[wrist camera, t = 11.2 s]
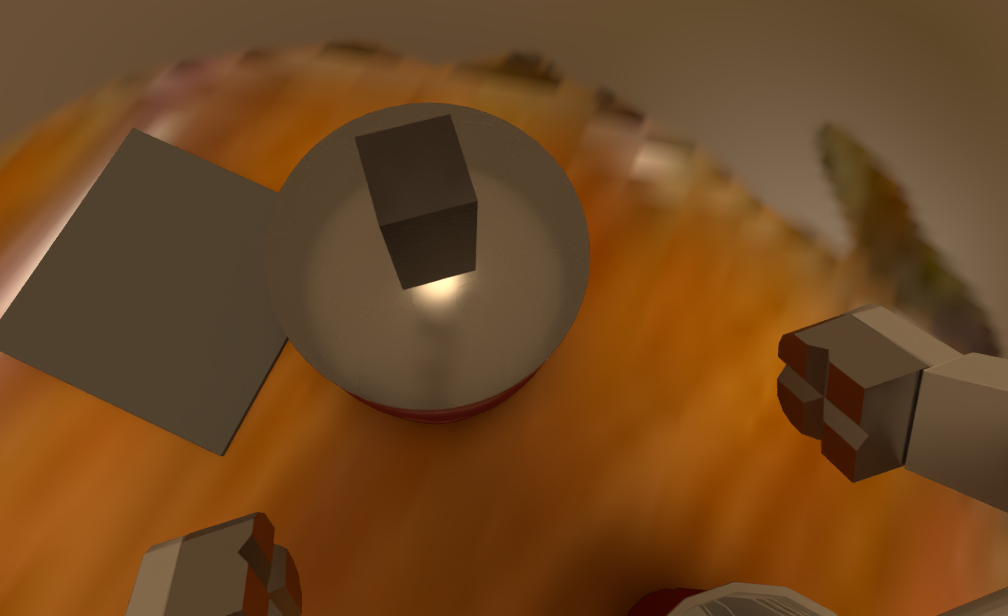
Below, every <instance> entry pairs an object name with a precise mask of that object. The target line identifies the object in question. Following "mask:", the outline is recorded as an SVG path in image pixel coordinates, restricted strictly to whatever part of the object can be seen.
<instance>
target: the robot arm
mask: <svg viewBox="0 0 1008 616" xmlns="http://www.w3.org/2000/svg"><path fill="white" fill-rule="evenodd" d="M778 357H779V358H780V359H781V360H782V361H783V362H784V363H785V364H786V366H785V367H784V369H783V371H782V372H781V374H780V375H779V377H778V378H777V396H778V399H779V401H780V404H781V407H782V410H783V412H784V413H785V415H786V416H787V418H788V419H789V421H790V422H791V424H792V425H793V426H794V427H795V428H796V429H797V430H798V431H799V432H800V433H801V434H804V435H807V436H810V437H813V438H815V439H818V440H820V442H821V453H822V454H823V455H824V456H825V457H826V458H827V459H828V460H829V461H830V462H831V463H832V464H833V465H834V466H835V467H836V468H837V469H838V470H839V471H841V472H842V473H843V474H844V475H845V476H846V477H847V478H848V479H849V480H850V481H851V482H852V483H854V482H857V481H860V480H863V479H866V478H869V477H872V476H875V475H878V474H881V473H884V472H887V471H890V470H893V469H896V468H899V467H901V466H904V465H905V469H907V470H909V471H912V472H914V473H916V474H919V475H921V476H923V477H926V478H928V479H930V480H933V481H935V482H937V483H940V484H942V485H944V486H947V487H949V488H951V489H954V490H956V491H958V492H961V493H963V494H965V495H968V496H970V497H972V498H975V499H977V500H979V501H982V502H984V503H986V504H989V505H991V506H993V507H995V508H998V509H1000V510H1002V511H1005V512H1007V513H1008V359H1003V358H998V357H993V356H988V355H983V354H978V353H971V354H968V355H965V356H964V355H962V354H961V353H959V352H957V351H956V350H954V349H952V348H951V347H949V346H947V345H946V344H944V343H942V342H941V341H939V340H937V339H936V338H934V337H932V336H931V335H929V334H927V333H926V332H924V331H922V330H921V329H919V328H917V327H916V326H914V325H912V324H911V323H909V322H907V321H906V320H904V319H902V318H901V317H899V316H897V315H896V314H894V313H892V312H891V311H889V310H887V309H886V308H884V307H882V306H879V305H874V304H868V305H866V306H863V307H860V308H857V309H854V310H852V311H849V312H846V313H843V314H841V315H840V316H836V317H833V318H830V319H827V320H824V321H822V322H819V323H816V324H813V325H810V326H807V327H804V328H801V329H798V330H796V331H793V332H790V333H787V334H784V335H783V336H782V338H781V340H780V342H779V347H778ZM274 533H275V528H274V526H273V525H272V523H271V522H270V520H269V519H268V517H267V516H266V514H265V513H261V512H257V513H253V514H250V515H247V516H244V517H241V518H237V519H234V520H231V521H228V522H225V523H221V524H218V525H215V526H212V527H209V528H205V529H202V530H199V531H196V532H193V533H189V534H188V535H186V536H182V537H179V538H176V539H173V540H170V541H166V542H163V543H160V544H157V545H153V546H151V547H150V549H149V550H148V551H147V552H146V553H145V554H144V556H143V558H142V562H141V565H140V568H139V571H138V575H137V578H136V581H135V584H134V588H133V591H132V594H131V597H130V600H129V604H128V607H127V610H126V613H125V616H301V614H302V591H301V585H300V579H299V574H298V571H297V568H296V565H295V563H294V560H293V558H292V556H291V555H290V553H289V551H288V550H287V548H284V547H282V546H279V545H277V544H274ZM937 616H1008V587H1006V588H1003V589H1001V590H998V591H996V592H993V593H991V594H988V595H986V596H983V597H981V598H979V599H976V600H974V601H971V602H969V603H966V604H964V605H961V606H959V607H956V608H954V609H952V610H949V611H947V612H944V613H942V614H939V615H937Z"/></svg>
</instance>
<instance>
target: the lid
mask: <svg viewBox="0 0 1008 616" xmlns="http://www.w3.org/2000/svg"><path fill="white" fill-rule="evenodd" d="M589 267H590V242H589V235H588V228H587V223H586V219H585V216H584V212H583V209H582V205H581V203H580V201H579V198H578V196H577V194H576V192H575V189H574V187H573V186H572V184H571V182H570V181H569V179H568V177H567V176H566V174H565V172H564V171H563V169H562V168H561V167H560V166H559V164H558V163H557V162H556V161H555V159H554V158H553V157H552V156H551V155H550V154H549V153H548V152H547V151H546V150H545V149H544V148H543V147H542V146H541V145H540V144H539V143H538V142H537V141H535V140H534V139H533V138H531V137H530V136H529V135H527V134H526V133H525V132H523V131H522V130H520V129H519V128H517V127H515V126H514V125H512V124H510V123H508V122H507V121H505V120H502V119H500V118H498V117H496V116H493V115H491V114H489V113H486V112H483V111H479V110H476V109H472V108H469V107H464V106H458V105H452V104H443V103H414V104H405V105H399V106H394V107H388V108H385V109H382V110H378V111H375V112H372V113H369V114H366V115H364V116H362V117H359V118H357V119H355V120H352V121H350V122H349V123H347V124H345V125H343V126H342V127H340V128H338V129H337V130H335V131H333V132H332V133H331V134H329V135H328V136H327V137H325V138H324V139H323V140H321V141H320V142H319V143H317V144H316V145H315V146H314V147H313V148H312V149H311V150H310V151H309V152H308V153H307V154H306V155H305V156H304V157H303V158H302V159H301V161H300V162H299V163H298V165H297V166H296V167H295V168H294V170H293V171H292V172H291V173H290V175H289V177H288V178H287V180H286V182H285V183H284V185H283V187H282V188H281V190H280V192H279V194H278V197H277V199H276V201H275V204H274V206H273V208H272V211H271V215H270V219H269V222H268V226H267V230H266V238H265V245H264V272H265V278H266V285H267V290H268V294H269V297H270V300H271V304H272V307H273V310H274V312H275V314H276V316H277V319H278V321H279V323H280V325H281V327H282V329H283V331H284V332H285V334H286V335H287V337H288V338H289V340H290V341H291V343H292V344H293V346H294V347H295V348H296V350H297V351H298V352H299V353H300V354H301V355H302V356H303V357H304V359H305V360H306V361H307V362H308V363H309V364H310V365H311V366H313V367H314V368H315V369H316V370H317V371H318V372H319V373H321V374H322V375H323V376H324V377H325V378H327V379H329V380H330V381H332V382H333V383H335V384H336V385H338V386H340V387H341V388H343V389H344V390H346V391H347V392H349V393H351V394H353V395H355V396H358V397H360V398H362V399H364V400H366V401H368V402H372V403H375V404H378V405H381V406H384V407H388V408H392V409H398V410H404V411H410V412H440V411H451V410H457V409H461V408H465V407H470V406H474V405H477V404H480V403H482V402H485V401H488V400H490V399H493V398H496V397H497V396H499V395H501V394H503V393H505V392H507V391H509V390H511V389H512V388H514V387H516V386H517V385H518V384H520V383H521V382H523V381H524V380H525V379H527V378H528V377H530V376H531V375H532V374H533V373H534V372H535V371H536V370H537V369H538V368H539V367H540V366H542V365H543V364H544V363H545V362H546V361H547V359H548V358H549V357H550V356H551V354H552V353H553V352H554V351H555V350H556V348H557V347H558V346H559V345H560V343H561V342H562V340H563V339H564V337H565V336H566V334H567V332H568V331H569V329H570V327H571V326H572V324H573V322H574V320H575V318H576V316H577V313H578V311H579V309H580V306H581V304H582V301H583V297H584V294H585V290H586V286H587V282H588V274H589Z"/></svg>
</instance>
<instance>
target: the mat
mask: <svg viewBox="0 0 1008 616" xmlns="http://www.w3.org/2000/svg"><path fill="white" fill-rule="evenodd" d="M278 194H279V193H277V192H275V191H273V190H271V189H268V188H266V187H264V186H262V185H259V184H257V183H255V182H253V181H250V180H248V179H246V178H244V177H241V176H239V175H237V174H235V173H233V172H230V171H228V170H226V169H224V168H221V167H219V166H217V165H215V164H212V163H210V162H208V161H206V160H204V159H201V158H199V157H197V156H195V155H192V154H190V153H188V152H186V151H183V150H181V149H179V148H177V147H174V146H172V145H170V144H168V143H166V142H163V141H161V140H159V139H157V138H154V137H152V136H150V135H148V134H145V133H143V132H141V131H139V130H136V129H134V128H133V129H132V130H131V131H130V133H129V134H128V136H127V137H126V139H125V140H124V142H123V143H122V144H121V146H120V147H119V149H118V150H117V152H116V153H115V155H114V156H113V157H112V159H111V160H110V162H109V163H108V165H107V166H106V168H105V169H104V170H103V172H102V173H101V175H100V176H99V178H98V179H97V181H96V182H95V183H94V185H93V186H92V188H91V189H90V191H89V192H88V194H87V195H86V196H85V198H84V199H83V201H82V202H81V204H80V205H79V207H78V208H77V209H76V211H75V212H74V214H73V215H72V217H71V218H70V220H69V221H68V222H67V224H66V225H65V227H64V228H63V230H62V231H61V233H60V234H59V235H58V237H57V238H56V240H55V241H54V243H53V244H52V246H51V247H50V248H49V250H48V251H47V253H46V254H45V256H44V257H43V259H42V260H41V261H40V263H39V264H38V266H37V267H36V269H35V270H34V272H33V273H32V274H31V276H30V277H29V279H28V280H27V282H26V283H25V285H24V286H23V287H22V289H21V290H20V292H19V293H18V295H17V296H16V298H15V299H14V300H13V302H12V303H11V305H10V306H9V308H8V309H7V311H6V312H5V313H4V315H3V316H2V318H1V319H0V351H1V352H3V353H5V354H8V355H10V356H12V357H14V358H16V359H18V360H20V361H22V362H24V363H26V364H29V365H31V366H33V367H35V368H37V369H39V370H41V371H43V372H45V373H47V374H50V375H52V376H54V377H56V378H58V379H60V380H62V381H64V382H66V383H68V384H71V385H73V386H75V387H77V388H79V389H81V390H83V391H85V392H87V393H89V394H92V395H94V396H96V397H98V398H100V399H102V400H104V401H106V402H108V403H110V404H113V405H115V406H117V407H119V408H121V409H123V410H125V411H127V412H129V413H131V414H134V415H136V416H138V417H140V418H142V419H144V420H146V421H148V422H150V423H152V424H155V425H157V426H159V427H161V428H163V429H165V430H167V431H169V432H171V433H173V434H176V435H178V436H180V437H182V438H184V439H186V440H188V441H190V442H192V443H194V444H197V445H199V446H201V447H203V448H205V449H207V450H209V451H211V452H213V453H215V454H218V455H220V456H224V454H225V452H226V450H227V449H228V447H229V445H230V443H231V441H232V440H233V438H234V436H235V434H236V432H237V431H238V429H239V427H240V425H241V423H242V422H243V420H244V418H245V416H246V414H247V413H248V411H249V409H250V407H251V405H252V404H253V402H254V400H255V398H256V396H257V395H258V393H259V391H260V389H261V387H262V386H263V384H264V382H265V380H266V378H267V377H268V375H269V373H270V371H271V369H272V368H273V366H274V364H275V362H276V360H277V359H278V357H279V355H280V353H281V352H282V350H283V348H284V346H285V344H286V343H287V341H288V339H289V338H288V337H287V335H286V334H285V332H284V331H283V329H282V327H281V325H280V323H279V321H278V319H277V316H276V314H275V312H274V310H273V307H272V304H271V300H270V297H269V294H268V290H267V285H266V278H265V272H264V245H265V238H266V230H267V226H268V222H269V219H270V215H271V211H272V208H273V206H274V204H275V201H276V199H277V197H278Z"/></svg>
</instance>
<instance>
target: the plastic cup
mask: <svg viewBox="0 0 1008 616" xmlns="http://www.w3.org/2000/svg"><path fill="white" fill-rule="evenodd" d="M628 616H837V615H836V613H834V612H832V611H830V610H829V609H827V608H825V607H823V606H821V605H819V604H817V603H816V602H814V601H812V600H810V599H808V598H806V597H804V596H802V595H801V594H799V593H797V592H795V591H793V590H791V589H789V588H788V587H781V586H770V585H760V584H750V583H739V582H731V583H728V584H725V585H722V586H719V587H716V588H713V589H711V590H697V589H686V588H676V589H662V590H659V591H656V592H653V593H651V594H648V595H645V596H644V597H643V598H642V599H641V600H640V601H639V602H638V603H637V604H636V605H635V606H634V607H633V608H632V609H631V610H630V612H629V614H628Z"/></svg>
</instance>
